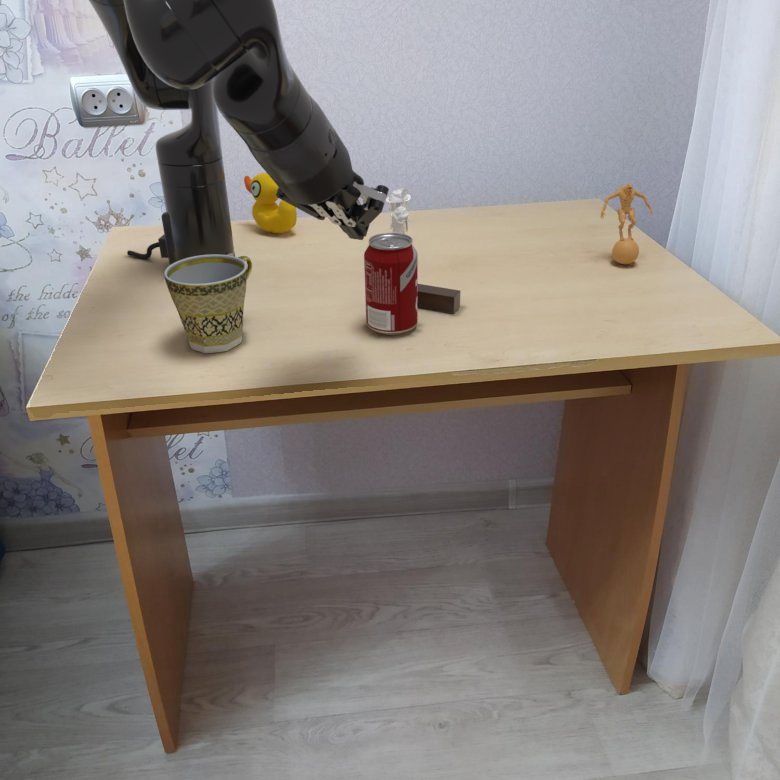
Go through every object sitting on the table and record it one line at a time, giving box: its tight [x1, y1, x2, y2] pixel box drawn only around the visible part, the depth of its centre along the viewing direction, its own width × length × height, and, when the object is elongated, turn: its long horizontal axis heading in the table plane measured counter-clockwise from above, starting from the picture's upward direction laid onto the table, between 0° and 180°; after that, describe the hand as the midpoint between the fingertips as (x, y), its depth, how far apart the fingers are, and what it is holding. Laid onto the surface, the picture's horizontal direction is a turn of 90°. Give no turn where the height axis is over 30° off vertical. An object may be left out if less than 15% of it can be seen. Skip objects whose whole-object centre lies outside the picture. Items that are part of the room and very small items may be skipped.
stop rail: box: [418, 283, 461, 315], centre depth 108 cm, size 12×2×2 cm, turn 65°
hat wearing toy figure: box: [385, 187, 412, 235], centre depth 121 cm, size 9×4×12 cm, turn 4°
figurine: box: [600, 183, 654, 266], centre depth 118 cm, size 8×6×12 cm
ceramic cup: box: [163, 254, 253, 354], centre depth 98 cm, size 13×10×10 cm
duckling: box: [243, 172, 298, 234], centre depth 133 cm, size 11×5×10 cm, turn 51°
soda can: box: [363, 232, 419, 336], centre depth 99 cm, size 7×7×12 cm
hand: (359, 232), depth 87 cm, fingers closed
